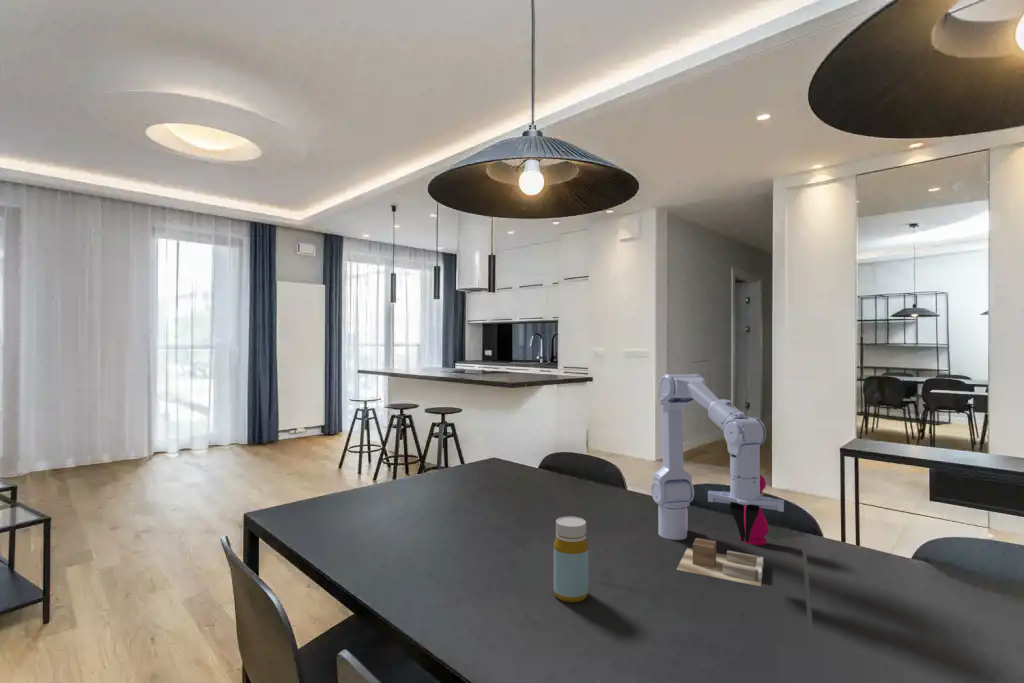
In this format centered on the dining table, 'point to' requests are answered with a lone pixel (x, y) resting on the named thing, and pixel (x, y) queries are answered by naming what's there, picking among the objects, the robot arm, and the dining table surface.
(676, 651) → the dining table surface
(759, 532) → the pepper mill
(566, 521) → the bottle
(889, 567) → the dining table surface
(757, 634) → the dining table surface
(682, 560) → the board
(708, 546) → the block
